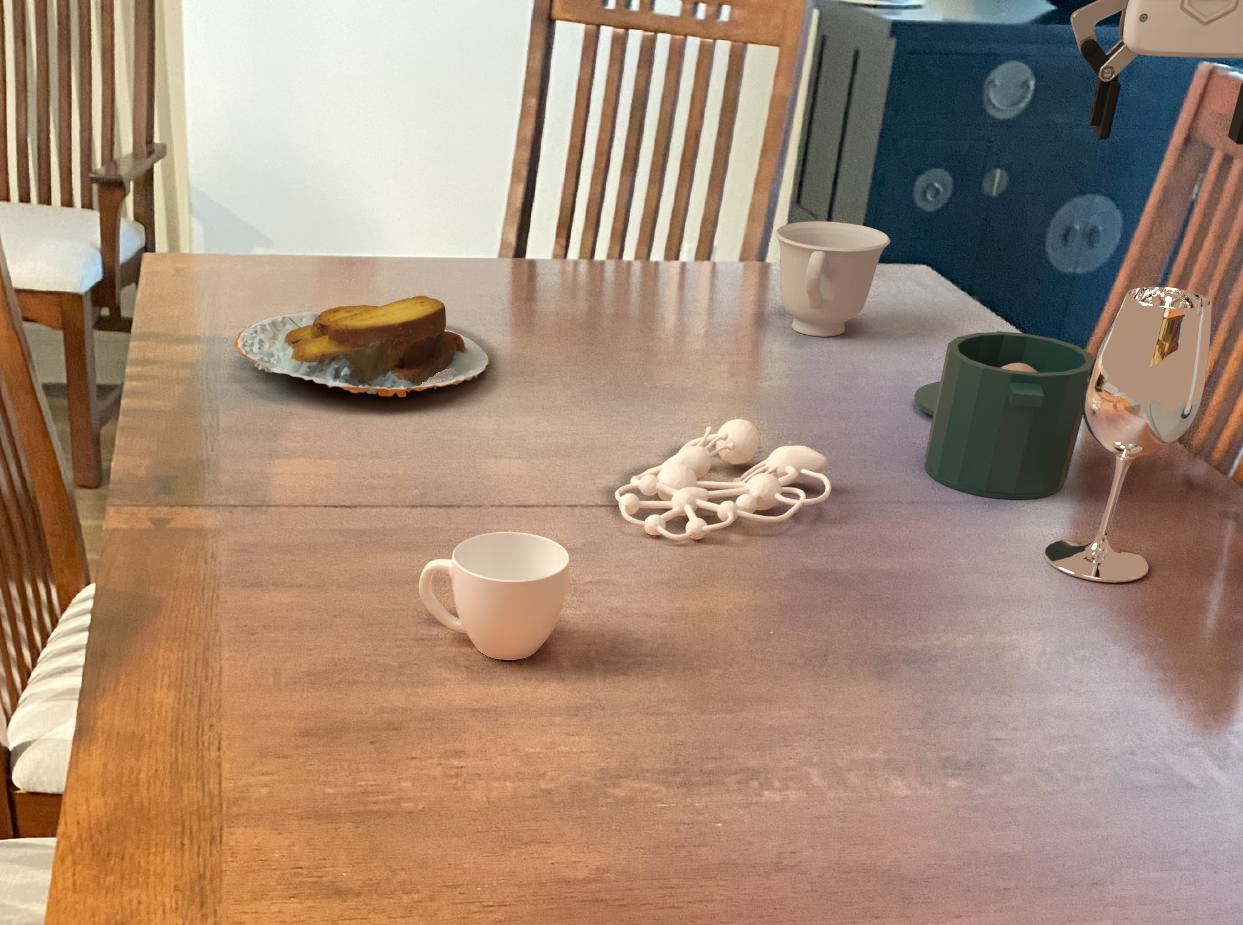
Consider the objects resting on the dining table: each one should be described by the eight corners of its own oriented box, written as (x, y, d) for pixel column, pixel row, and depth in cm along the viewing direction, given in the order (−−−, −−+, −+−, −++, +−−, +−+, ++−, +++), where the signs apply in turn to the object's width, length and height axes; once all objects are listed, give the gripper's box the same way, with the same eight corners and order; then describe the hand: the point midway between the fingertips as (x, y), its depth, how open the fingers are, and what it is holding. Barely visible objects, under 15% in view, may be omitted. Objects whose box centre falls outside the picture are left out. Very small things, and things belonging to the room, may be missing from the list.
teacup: (745, 344, 160) (757, 247, 154) (775, 308, 172) (787, 216, 166) (859, 359, 156) (876, 260, 151) (882, 321, 168) (898, 228, 162)
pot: (1052, 445, 136) (1082, 329, 130) (1075, 518, 122) (1108, 391, 116) (920, 433, 138) (943, 318, 132) (928, 503, 124) (954, 378, 119)
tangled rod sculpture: (707, 580, 114) (715, 532, 112) (570, 508, 122) (575, 462, 120) (856, 508, 125) (867, 462, 122) (721, 446, 133) (729, 402, 130)
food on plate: (278, 326, 163) (276, 264, 159) (505, 343, 159) (508, 280, 156) (204, 402, 142) (199, 332, 138) (463, 424, 138) (465, 353, 135)
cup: (555, 679, 99) (561, 586, 95) (407, 663, 100) (407, 571, 96) (570, 626, 105) (576, 537, 101) (430, 612, 106) (431, 523, 103)
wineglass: (1020, 550, 117) (1085, 288, 106) (1097, 535, 119) (1168, 277, 108) (1092, 591, 111) (1169, 318, 100) (1172, 574, 114) (1256, 306, 102)
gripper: (1108, -126, 103) (1053, 144, 112) (1384, -125, 100) (1304, 152, 109) (1093, -129, 109) (1042, 127, 118) (1353, -128, 106) (1279, 134, 115)
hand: (1168, 139), depth 114 cm, fingers open, 9 cm apart
